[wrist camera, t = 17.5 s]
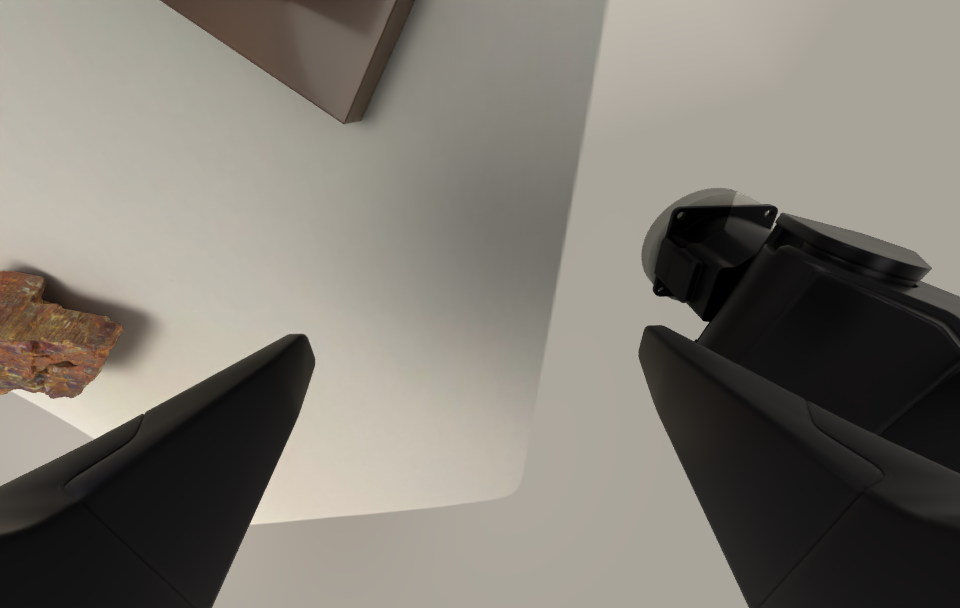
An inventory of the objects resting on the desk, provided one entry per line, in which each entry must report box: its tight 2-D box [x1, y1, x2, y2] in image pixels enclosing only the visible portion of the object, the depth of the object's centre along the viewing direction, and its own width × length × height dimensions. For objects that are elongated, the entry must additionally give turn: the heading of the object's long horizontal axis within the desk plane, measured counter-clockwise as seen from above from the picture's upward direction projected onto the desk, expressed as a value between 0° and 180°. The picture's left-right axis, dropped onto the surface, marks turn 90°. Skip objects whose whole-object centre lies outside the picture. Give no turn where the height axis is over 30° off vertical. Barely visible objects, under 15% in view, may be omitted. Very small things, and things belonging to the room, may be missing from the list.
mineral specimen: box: [0, 271, 123, 399], centre depth 23 cm, size 12×8×7 cm
